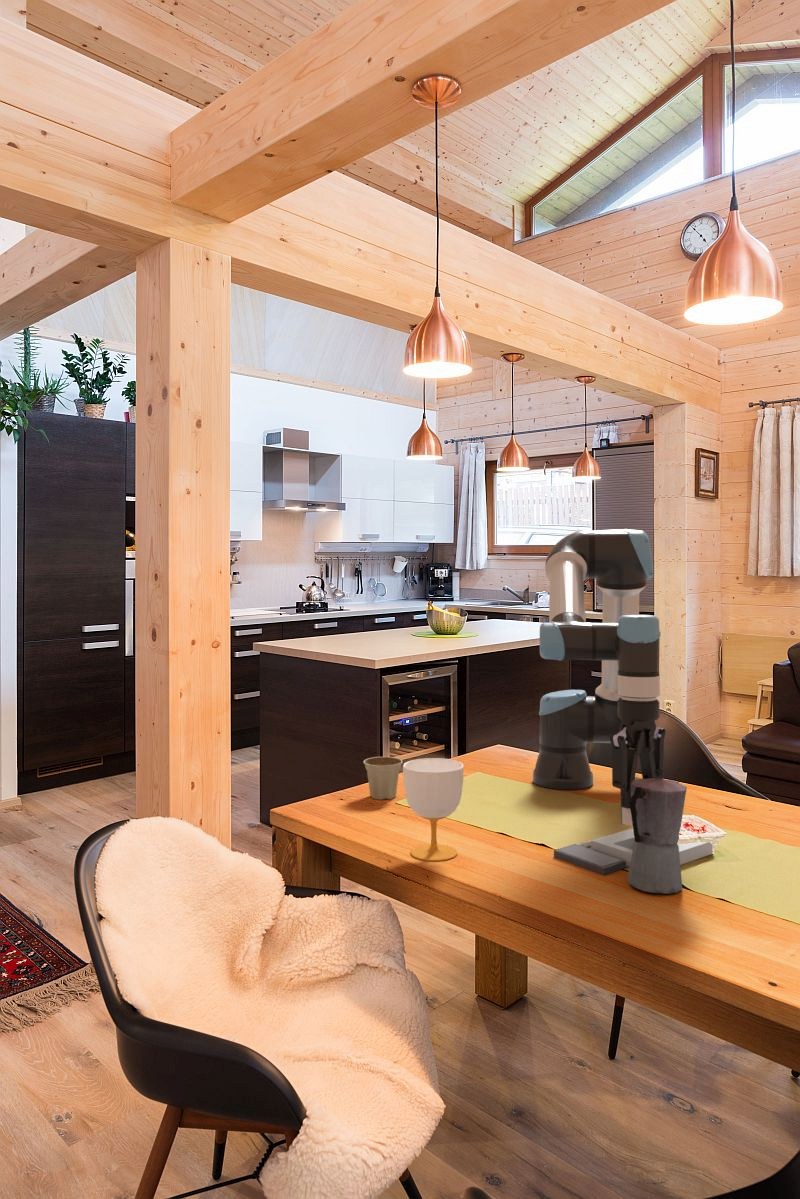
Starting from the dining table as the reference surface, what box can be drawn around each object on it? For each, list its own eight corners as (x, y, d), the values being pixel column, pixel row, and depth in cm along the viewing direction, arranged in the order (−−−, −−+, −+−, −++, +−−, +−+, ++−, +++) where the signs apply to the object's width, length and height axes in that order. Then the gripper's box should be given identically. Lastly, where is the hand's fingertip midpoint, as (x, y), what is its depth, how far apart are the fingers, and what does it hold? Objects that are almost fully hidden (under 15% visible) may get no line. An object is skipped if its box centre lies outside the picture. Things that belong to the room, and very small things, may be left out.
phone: (575, 849, 158) (575, 843, 158) (625, 867, 148) (625, 860, 148) (553, 856, 154) (553, 849, 154) (603, 875, 145) (603, 867, 145)
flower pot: (399, 802, 192) (399, 766, 191) (360, 801, 193) (359, 764, 193) (405, 792, 201) (405, 757, 201) (367, 790, 202) (367, 756, 202)
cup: (442, 868, 148) (441, 775, 148) (391, 855, 156) (390, 766, 155) (476, 850, 158) (475, 763, 157) (426, 839, 165) (426, 755, 164)
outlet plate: (650, 835, 167) (650, 821, 166) (712, 853, 155) (712, 839, 155) (591, 853, 156) (591, 839, 156) (652, 874, 145) (652, 859, 145)
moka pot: (700, 881, 142) (701, 766, 141) (662, 908, 130) (662, 784, 129) (648, 868, 148) (648, 758, 147) (607, 893, 136) (607, 774, 136)
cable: (612, 837, 165) (612, 832, 165) (616, 839, 164) (616, 834, 164) (575, 848, 159) (575, 843, 159) (579, 850, 158) (579, 845, 158)
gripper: (651, 691, 161) (651, 809, 161) (590, 699, 150) (591, 825, 151) (684, 695, 154) (684, 818, 155) (623, 704, 144) (623, 836, 145)
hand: (638, 821), depth 153 cm, fingers closed on charger block, 4 cm apart
